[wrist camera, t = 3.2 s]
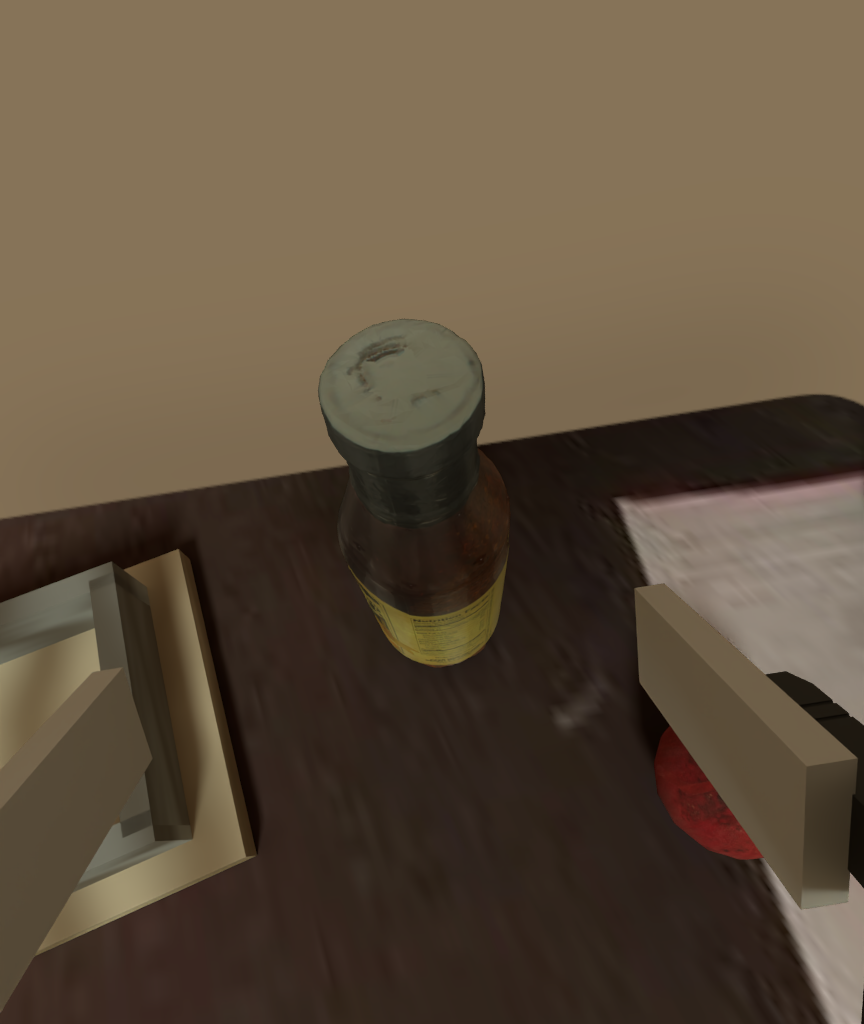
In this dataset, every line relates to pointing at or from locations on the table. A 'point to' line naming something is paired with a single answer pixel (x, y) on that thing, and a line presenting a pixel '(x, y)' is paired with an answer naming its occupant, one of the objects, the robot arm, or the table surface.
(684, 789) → the onion
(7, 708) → the bottle holder
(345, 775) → the table surface
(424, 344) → the sauce bottle
